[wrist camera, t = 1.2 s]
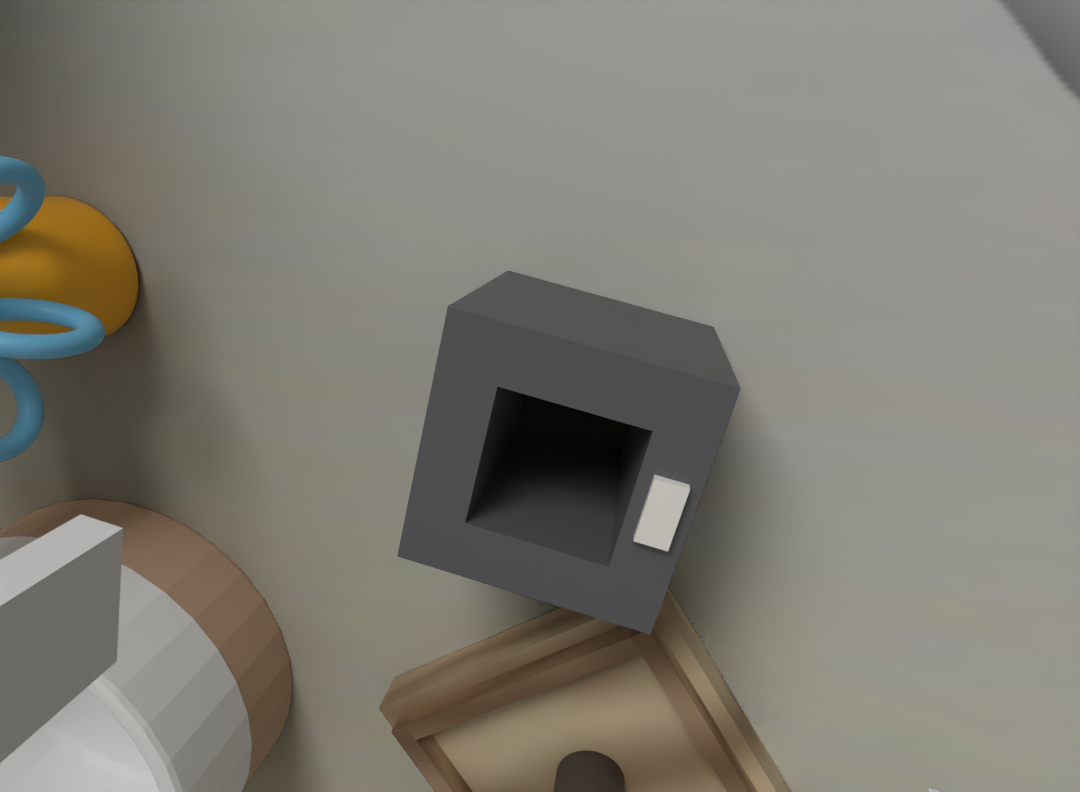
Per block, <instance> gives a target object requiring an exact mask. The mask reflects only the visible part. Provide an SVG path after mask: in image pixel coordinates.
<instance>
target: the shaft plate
mask: <svg viewBox="0 0 1080 792" xmlns="http://www.w3.org/2000/svg"><path fill="white" fill-rule="evenodd" d="M379 709H380V711H381V712H382V713H383V715H384V716H385V717H386V719H387V720H388V722H389V723H390V724H391V726H392V727H393V730H392V734H393V735H394V736H395V738H396V739H397V740H398V742H399V743H400V745H401V746H402V747H403V749H404V750H405V751H406V753H407V754H408V756H409V757H410V758H411V760H412V761H413V762H414V764H415V765H416V766H417V768H418V769H419V771H420V772H421V773H422V775H423V776H424V777H425V779H426V780H427V782H428V783H429V784H430V786H431V787H432V788H433V790H434V791H435V792H791V790H790V789H789V787H788V785H787V784H786V782H785V780H784V779H783V777H782V775H781V774H780V772H779V770H778V769H777V767H776V765H775V764H774V762H773V760H772V759H771V757H770V755H769V754H768V752H767V750H766V749H765V747H764V745H763V744H762V742H761V740H760V739H759V737H758V735H757V734H756V732H755V730H754V729H753V727H752V725H751V724H750V722H749V720H748V719H747V717H746V715H745V714H744V712H743V710H742V709H741V707H740V705H739V704H738V702H737V700H736V699H735V697H734V695H733V694H732V692H731V691H730V689H729V687H728V686H727V684H726V682H725V681H724V679H723V677H722V676H721V674H720V672H719V671H718V669H717V667H716V666H715V664H714V662H713V661H712V659H711V657H710V656H709V654H708V652H707V651H706V649H705V647H704V646H703V644H702V642H701V641H700V639H699V637H698V636H697V634H696V632H695V631H694V629H693V627H692V626H691V624H690V622H689V621H688V619H687V617H686V616H685V614H684V612H683V611H682V609H681V607H680V606H679V604H678V602H677V601H676V599H675V597H674V596H673V594H672V592H671V591H670V589H669V587H668V588H667V591H666V594H665V597H664V599H663V602H662V605H661V608H660V610H659V613H658V616H657V618H656V621H655V624H654V627H653V629H652V632H651V635H650V634H646V633H643V632H640V631H637V630H633V629H630V628H627V627H624V626H621V625H617V624H614V623H611V622H608V621H604V620H601V619H598V618H595V617H592V616H588V615H585V614H582V613H579V612H575V611H572V610H569V609H566V608H563V607H560V608H558V609H555V610H553V611H551V612H548V613H546V614H544V615H541V616H539V617H537V618H534V619H532V620H530V621H527V622H525V623H523V624H520V625H518V626H515V627H513V628H511V629H508V630H506V631H504V632H501V633H499V634H497V635H494V636H492V637H490V638H487V639H485V640H482V641H480V642H478V643H475V644H473V645H471V646H468V647H466V648H464V649H461V650H459V651H457V652H454V653H452V654H450V655H447V656H445V657H442V658H440V659H438V660H435V661H433V662H431V663H428V664H426V665H424V666H421V667H419V668H417V669H414V670H412V671H410V672H407V673H405V674H402V675H400V676H398V677H395V678H394V680H393V682H392V684H391V686H390V688H389V690H388V692H387V694H386V696H385V698H384V699H383V701H382V703H381V705H380V707H379Z"/></svg>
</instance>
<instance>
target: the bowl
mask: <svg viewBox="0 0 1080 792" xmlns="http://www.w3.org/2000/svg"><path fill="white" fill-rule="evenodd" d="M79 515H84V516H87V517H91V518H94V519H97V520H100V521H103V522H106V523H109V524H112V525H115V526H118V527H122V528H123V542H122V563H121V585H120V606H119V627H118V649H117V661H116V662H115V663H114V664H113V665H112V666H111V667H110V668H108V669H107V670H106V671H105V672H104V673H103V674H102V675H100V676H99V677H98V678H97V679H96V680H95V681H94V682H92V683H91V684H90V685H89V686H88V687H87V688H86V689H84V690H83V691H82V692H81V693H80V694H79V695H78V696H76V697H75V698H74V699H73V700H72V701H71V702H70V703H68V704H67V705H66V706H65V707H64V708H63V709H62V710H61V711H59V712H58V713H57V714H56V715H55V716H54V717H52V718H51V719H50V720H49V721H48V722H47V723H46V724H45V725H43V726H42V727H41V728H40V729H39V730H38V731H37V732H35V733H34V734H33V735H32V736H31V737H30V738H29V739H27V740H26V741H25V742H24V743H23V744H22V745H21V746H19V747H18V748H17V749H16V750H15V751H14V752H13V753H11V754H10V755H9V756H8V757H7V758H6V759H5V760H3V761H2V762H1V763H0V792H242V791H243V790H244V789H245V787H246V786H247V784H248V783H249V781H250V780H251V778H252V777H253V775H254V774H255V772H256V771H257V769H258V768H259V766H260V765H261V763H262V762H263V760H264V759H265V757H266V756H267V754H268V753H269V751H270V750H271V748H272V747H273V745H274V744H275V743H276V741H277V740H278V738H279V737H280V734H281V732H282V729H283V727H284V724H285V722H286V719H287V717H288V714H289V709H290V701H291V693H292V677H291V668H290V659H289V655H288V652H287V648H286V645H285V642H284V639H283V636H282V633H281V630H280V627H279V625H278V624H277V622H276V620H275V618H274V616H273V614H272V612H271V610H270V609H269V607H268V605H267V603H266V601H265V599H264V598H263V597H262V595H261V594H260V593H259V592H258V590H257V589H256V588H255V586H254V585H253V584H252V582H251V581H250V580H249V579H248V577H247V576H246V575H245V573H244V572H243V571H242V570H241V569H240V568H239V567H238V566H237V565H236V564H234V563H233V562H232V561H231V560H230V559H229V558H228V557H227V556H226V555H225V554H224V553H223V552H222V551H221V550H220V549H219V548H218V547H216V546H215V545H213V544H212V543H210V542H209V541H208V540H206V539H205V538H203V537H202V536H200V535H199V534H197V533H196V532H195V531H193V530H192V529H190V528H189V527H187V526H185V525H183V524H181V523H179V522H177V521H175V520H173V519H170V518H168V517H166V516H164V515H162V514H160V513H158V512H156V511H152V510H149V509H146V508H142V507H139V506H135V505H132V504H128V503H125V502H118V501H108V500H98V499H86V500H77V501H67V502H60V503H57V504H54V505H51V506H48V507H45V508H42V509H40V510H37V511H34V512H32V513H30V514H28V515H27V516H25V517H23V518H21V519H19V520H17V521H15V522H13V523H11V524H9V525H8V526H6V527H4V528H2V529H0V560H1V559H3V558H4V557H6V556H8V555H10V554H11V553H13V552H15V551H17V550H19V549H20V548H22V547H24V546H26V545H27V544H29V543H31V542H33V541H34V540H36V539H38V538H40V537H42V536H43V535H45V534H47V533H49V532H50V531H52V530H54V529H56V528H58V527H59V526H61V525H63V524H65V523H66V522H68V521H70V520H72V519H73V518H75V517H77V516H79Z"/></svg>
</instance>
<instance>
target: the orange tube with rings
mask: <svg viewBox="0 0 1080 792" xmlns="http://www.w3.org/2000/svg"><path fill="white" fill-rule="evenodd" d="M0 183H12V184H15V185H16V192H15V195H14V196H11V197H0V377H1V378H2V379H3V380H4V381H5V382H6V383H7V384H8V385H9V386H10V388H11V389H12V391H13V393H14V395H15V398H16V401H17V406H18V416H17V420H16V423H15V425H14V427H13V429H12V430H11V431H10V432H9V433H8V434H7V435H6V436H4V437H2V438H0V462H1V461H5V460H8V459H10V458H13V457H15V456H17V455H18V454H20V453H22V452H23V451H24V450H26V449H27V448H28V447H29V446H30V445H31V444H32V443H33V441H34V440H35V439H36V437H37V436H38V434H39V432H40V429H41V427H42V423H43V418H44V404H43V399H42V395H41V392H40V389H39V387H38V385H37V383H36V381H35V380H34V378H33V377H32V375H31V374H30V373H29V371H28V370H27V369H26V368H25V367H24V366H23V365H22V364H21V363H20V362H18V360H24V359H53V358H63V357H69V356H74V355H79V354H82V353H85V352H88V351H90V350H92V349H94V348H96V347H97V346H98V345H99V344H100V343H101V342H102V341H103V339H104V337H106V336H109V335H111V334H113V333H114V332H116V331H117V330H118V329H119V328H120V327H122V326H123V325H124V324H125V323H126V321H127V320H128V318H129V317H130V315H131V314H132V312H133V310H134V307H135V305H136V302H137V295H138V290H139V285H138V272H137V268H136V262H135V259H134V257H133V255H132V252H131V249H130V247H129V245H128V243H127V242H126V240H125V238H124V236H123V235H122V233H121V232H120V231H119V230H118V229H117V227H116V226H115V225H114V223H113V222H111V221H110V220H109V219H108V218H107V217H106V216H105V215H104V214H103V213H101V212H100V211H98V210H96V209H95V208H93V207H92V206H90V205H88V204H86V203H83V202H81V201H79V200H76V199H73V198H69V197H63V196H45V193H46V188H45V183H44V180H43V178H42V176H41V175H40V173H39V172H38V171H37V170H36V169H35V168H34V167H32V166H31V165H29V164H28V163H26V162H24V161H21V160H19V159H15V158H11V157H4V156H0Z"/></svg>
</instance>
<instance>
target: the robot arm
mask: <svg viewBox="0 0 1080 792" xmlns="http://www.w3.org/2000/svg"><path fill="white" fill-rule="evenodd" d="M122 542H123V528H122V527H118V526H115V525H112V524H109V523H106V522H103V521H100V520H97V519H94V518H91V517H87V516H84V515H79V516H77V517H75V518H73V519H72V520H70V521H68V522H66V523H65V524H63V525H61V526H59V527H58V528H56V529H54V530H52V531H50V532H49V533H47V534H45V535H43V536H42V537H40V538H38V539H36V540H34V541H33V542H31V543H29V544H27V545H26V546H24V547H22V548H20V549H19V550H17V551H15V552H13V553H11V554H10V555H8V556H6V557H4V558H3V559H1V560H0V763H1V762H2V761H3V760H5V759H6V758H7V757H8V756H9V755H10V754H11V753H13V752H14V751H15V750H16V749H17V748H18V747H19V746H21V745H22V744H23V743H24V742H25V741H26V740H27V739H29V738H30V737H31V736H32V735H33V734H34V733H35V732H37V731H38V730H39V729H40V728H41V727H42V726H43V725H45V724H46V723H47V722H48V721H49V720H50V719H51V718H52V717H54V716H55V715H56V714H57V713H58V712H59V711H61V710H62V709H63V708H64V707H65V706H66V705H67V704H68V703H70V702H71V701H72V700H73V699H74V698H75V697H76V696H78V695H79V694H80V693H81V692H82V691H83V690H84V689H86V688H87V687H88V686H89V685H90V684H91V683H92V682H94V681H95V680H96V679H97V678H98V677H99V676H100V675H102V674H103V673H104V672H105V671H106V670H107V669H108V668H110V667H111V666H112V665H113V664H114V663H115V662H116V661H117V649H118V627H119V606H120V585H121V563H122ZM926 792H939V791H936V790H933V789H930V788H928V790H927V791H926Z"/></svg>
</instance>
